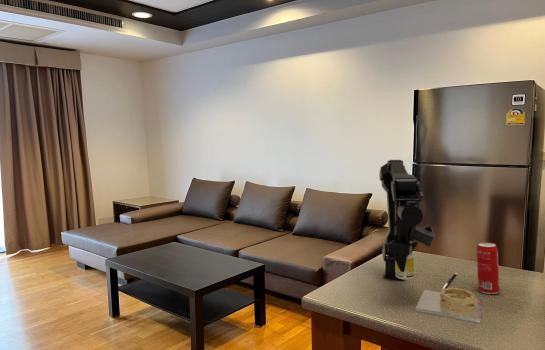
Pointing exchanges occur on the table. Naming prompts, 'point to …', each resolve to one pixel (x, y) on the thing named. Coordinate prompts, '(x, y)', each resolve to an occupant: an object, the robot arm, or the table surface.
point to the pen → (450, 281)
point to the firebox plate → (451, 304)
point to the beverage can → (488, 268)
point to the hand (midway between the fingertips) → (404, 268)
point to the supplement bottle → (406, 269)
